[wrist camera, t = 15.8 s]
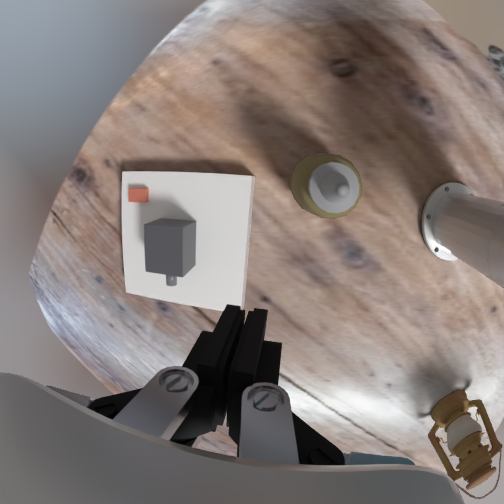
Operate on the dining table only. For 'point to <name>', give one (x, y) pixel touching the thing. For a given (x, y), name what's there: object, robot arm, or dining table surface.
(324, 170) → the squeeze bottle
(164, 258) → the plug
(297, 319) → the dining table surface
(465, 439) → the lantern
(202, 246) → the socket
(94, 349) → the dining table surface
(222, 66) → the dining table surface
